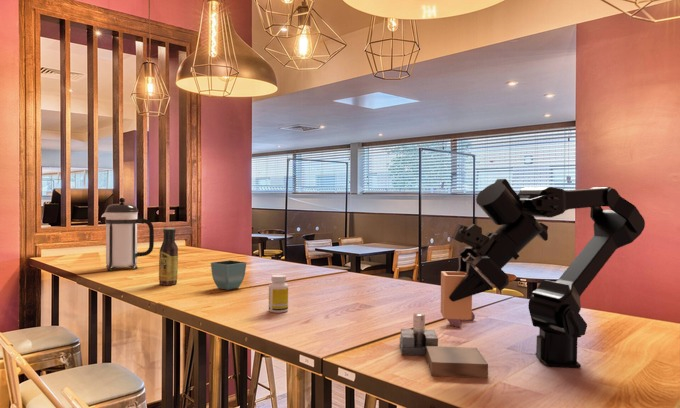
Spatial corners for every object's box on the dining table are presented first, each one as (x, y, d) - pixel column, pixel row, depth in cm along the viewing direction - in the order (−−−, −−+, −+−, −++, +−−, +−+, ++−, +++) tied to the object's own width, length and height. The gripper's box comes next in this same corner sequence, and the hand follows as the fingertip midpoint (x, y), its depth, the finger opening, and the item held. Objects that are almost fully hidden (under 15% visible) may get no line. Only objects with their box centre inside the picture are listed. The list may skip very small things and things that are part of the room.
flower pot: (229, 284, 166) (230, 259, 166) (247, 288, 161) (247, 262, 160) (209, 288, 159) (209, 262, 158) (227, 292, 154) (227, 265, 153)
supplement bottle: (292, 310, 130) (292, 275, 130) (276, 314, 126) (277, 278, 126) (279, 307, 134) (280, 273, 134) (264, 310, 130) (264, 275, 130)
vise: (434, 345, 102) (435, 311, 102) (439, 356, 95) (439, 319, 95) (399, 343, 102) (400, 310, 102) (401, 354, 95) (402, 318, 95)
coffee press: (123, 272, 188) (123, 198, 187) (93, 269, 193) (93, 197, 193) (154, 266, 204) (155, 198, 203) (126, 264, 209) (126, 197, 209)
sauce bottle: (156, 283, 166) (156, 228, 165) (173, 281, 170) (173, 227, 169) (163, 286, 161) (163, 229, 160) (180, 284, 165) (181, 228, 165)
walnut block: (476, 360, 93) (477, 347, 93) (487, 377, 84) (488, 364, 84) (426, 358, 94) (426, 346, 94) (431, 375, 85) (431, 362, 85)
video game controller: (462, 323, 125) (452, 298, 127) (477, 318, 123) (466, 293, 125) (445, 331, 118) (434, 304, 119) (461, 326, 115) (449, 299, 117)
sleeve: (466, 312, 91) (467, 271, 91) (471, 319, 86) (472, 276, 86) (440, 311, 91) (441, 271, 91) (444, 318, 86) (444, 275, 86)
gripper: (468, 207, 97) (414, 259, 98) (490, 210, 79) (423, 274, 80) (506, 246, 97) (452, 297, 98) (537, 258, 78) (469, 321, 79)
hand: (448, 296), depth 89 cm, fingers closed on sleeve, 5 cm apart
